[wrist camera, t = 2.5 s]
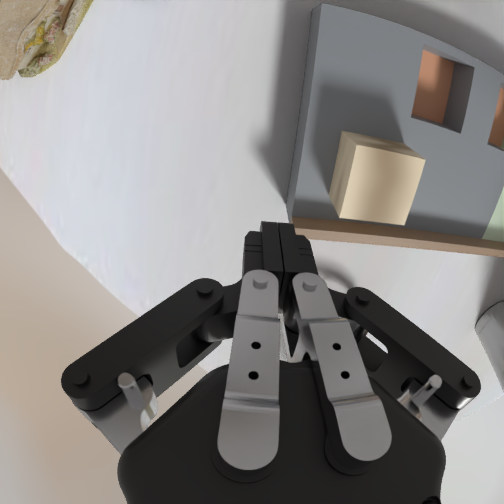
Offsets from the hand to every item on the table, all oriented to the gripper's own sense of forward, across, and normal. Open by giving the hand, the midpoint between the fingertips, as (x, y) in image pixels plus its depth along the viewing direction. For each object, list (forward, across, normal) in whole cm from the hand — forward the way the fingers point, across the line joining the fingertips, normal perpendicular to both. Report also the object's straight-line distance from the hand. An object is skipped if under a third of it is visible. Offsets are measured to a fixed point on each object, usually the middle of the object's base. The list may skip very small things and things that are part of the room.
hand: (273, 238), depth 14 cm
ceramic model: (+17, +24, -15) cm, 32 cm away
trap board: (+16, -19, -3) cm, 25 cm away
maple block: (+12, -9, 0) cm, 15 cm away
